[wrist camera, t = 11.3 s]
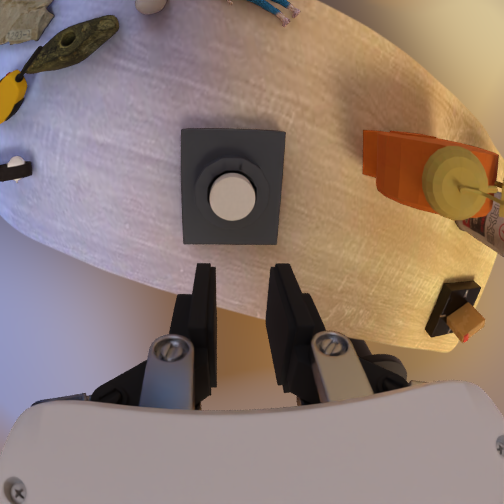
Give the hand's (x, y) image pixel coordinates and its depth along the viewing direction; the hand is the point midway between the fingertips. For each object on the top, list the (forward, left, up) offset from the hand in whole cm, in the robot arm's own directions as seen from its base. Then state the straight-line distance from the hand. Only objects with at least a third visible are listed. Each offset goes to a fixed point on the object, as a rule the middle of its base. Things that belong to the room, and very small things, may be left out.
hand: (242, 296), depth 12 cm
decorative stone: (+16, +18, -17) cm, 29 cm away
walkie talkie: (+12, +31, -21) cm, 39 cm away
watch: (+5, +28, -19) cm, 34 cm away
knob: (-19, -40, -19) cm, 48 cm away
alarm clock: (+5, -20, -21) cm, 30 cm away
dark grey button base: (0, 0, -21) cm, 21 cm away
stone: (+31, +28, -19) cm, 46 cm away
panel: (-19, -40, -21) cm, 49 cm away
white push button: (0, 0, -17) cm, 17 cm away
